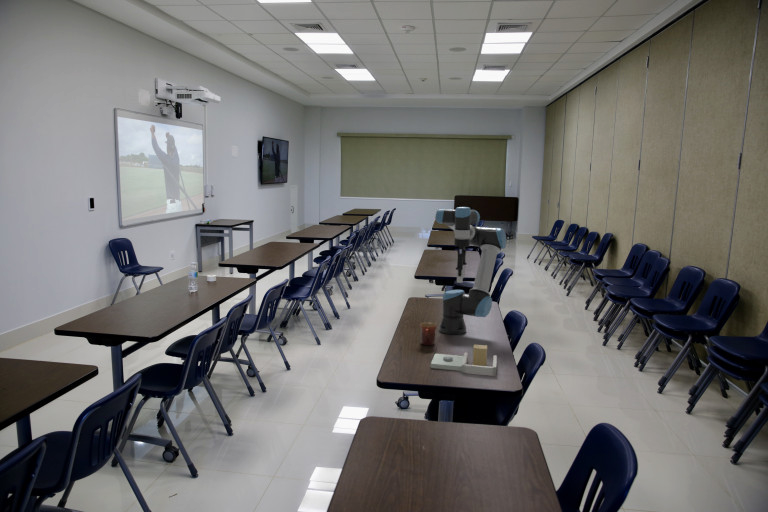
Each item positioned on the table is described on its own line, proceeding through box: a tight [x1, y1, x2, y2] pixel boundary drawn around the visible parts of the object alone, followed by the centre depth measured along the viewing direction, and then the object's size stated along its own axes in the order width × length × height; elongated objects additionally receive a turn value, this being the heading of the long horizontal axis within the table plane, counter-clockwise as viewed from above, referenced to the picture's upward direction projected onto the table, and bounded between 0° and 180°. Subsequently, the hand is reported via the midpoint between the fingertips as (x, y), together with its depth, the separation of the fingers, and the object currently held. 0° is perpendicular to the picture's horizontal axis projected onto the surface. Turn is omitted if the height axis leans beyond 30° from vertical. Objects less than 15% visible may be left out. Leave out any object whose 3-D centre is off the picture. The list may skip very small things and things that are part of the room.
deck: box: [430, 352, 498, 377], centre depth 231 cm, size 17×29×4 cm, turn 76°
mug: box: [419, 322, 437, 346], centre depth 260 cm, size 12×9×10 cm
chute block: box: [472, 344, 488, 366], centre depth 232 cm, size 5×6×9 cm
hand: (460, 280), depth 254 cm, fingers open, 13 cm apart
